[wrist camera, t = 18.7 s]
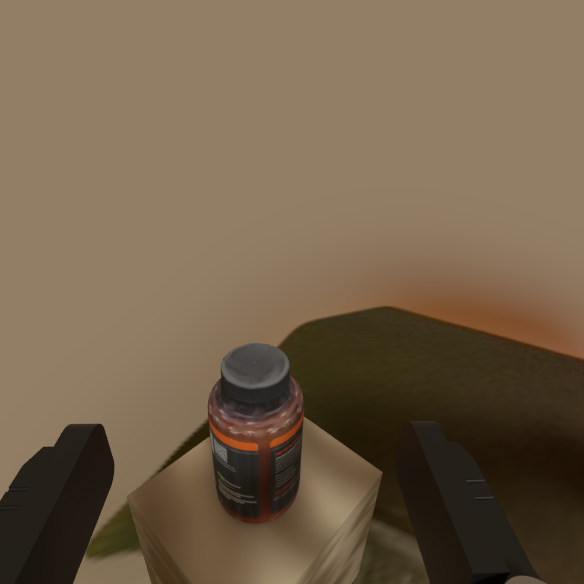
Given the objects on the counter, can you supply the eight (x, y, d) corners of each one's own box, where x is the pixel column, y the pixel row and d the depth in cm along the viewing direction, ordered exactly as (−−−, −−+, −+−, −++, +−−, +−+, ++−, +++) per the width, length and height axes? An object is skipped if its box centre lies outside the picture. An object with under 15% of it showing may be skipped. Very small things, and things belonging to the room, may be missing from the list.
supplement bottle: (306, 459, 29) (316, 341, 24) (289, 538, 24) (297, 410, 19) (232, 443, 30) (226, 326, 25) (201, 516, 25) (185, 389, 20)
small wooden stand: (268, 491, 43) (270, 392, 36) (358, 574, 36) (382, 472, 29) (156, 600, 34) (126, 496, 26) (247, 739, 27) (242, 651, 19)
